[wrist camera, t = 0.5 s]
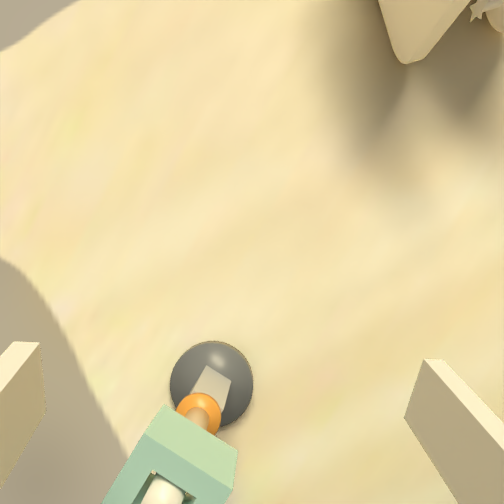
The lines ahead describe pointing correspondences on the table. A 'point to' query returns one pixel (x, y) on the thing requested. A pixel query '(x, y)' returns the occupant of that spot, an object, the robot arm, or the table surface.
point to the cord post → (205, 399)
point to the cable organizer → (430, 22)
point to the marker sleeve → (177, 462)
